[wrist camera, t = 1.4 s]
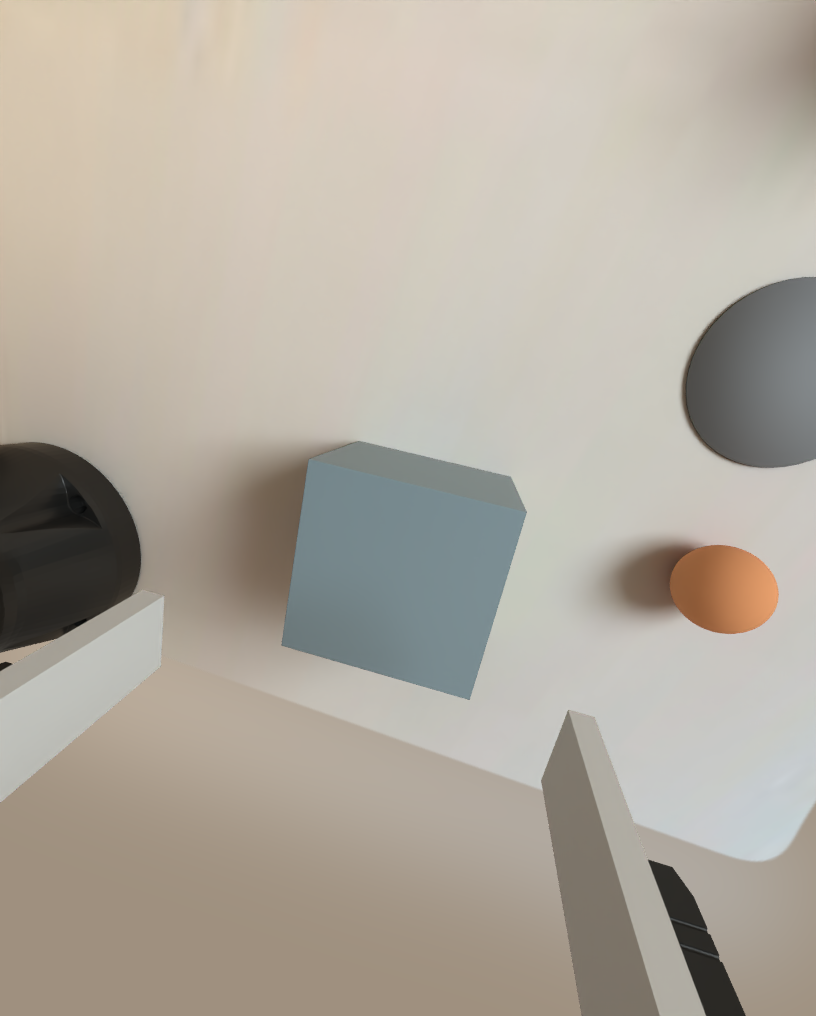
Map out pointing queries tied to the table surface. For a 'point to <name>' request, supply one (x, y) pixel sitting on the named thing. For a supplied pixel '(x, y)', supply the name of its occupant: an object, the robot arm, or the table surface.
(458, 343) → the table surface
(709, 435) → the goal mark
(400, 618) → the blue-grey block
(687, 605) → the brown egg
